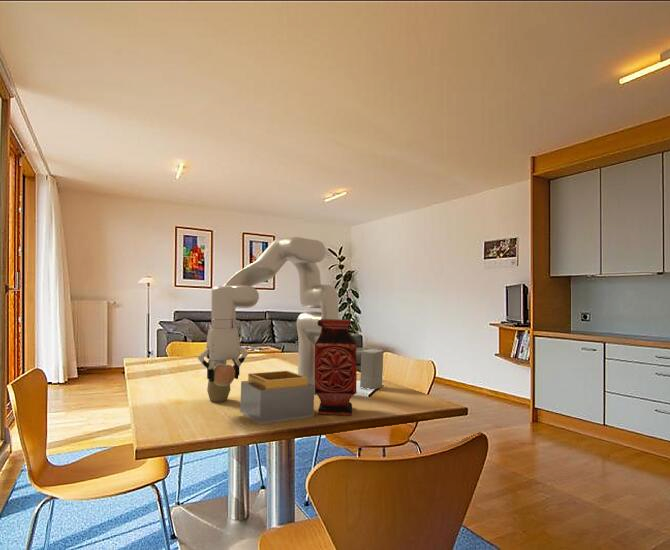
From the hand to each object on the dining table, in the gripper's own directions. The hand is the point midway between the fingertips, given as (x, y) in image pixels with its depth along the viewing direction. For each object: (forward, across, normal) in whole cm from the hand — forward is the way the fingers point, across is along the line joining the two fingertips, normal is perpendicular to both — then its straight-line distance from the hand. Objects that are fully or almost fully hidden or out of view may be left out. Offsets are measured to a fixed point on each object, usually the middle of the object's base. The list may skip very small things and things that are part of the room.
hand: (223, 379), depth 145 cm
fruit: (+2, 0, 0) cm, 2 cm away
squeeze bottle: (+11, -4, -16) cm, 20 cm away
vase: (+12, -33, +16) cm, 38 cm away
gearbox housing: (+11, -14, +10) cm, 20 cm away
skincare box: (+13, -67, -10) cm, 69 cm away
